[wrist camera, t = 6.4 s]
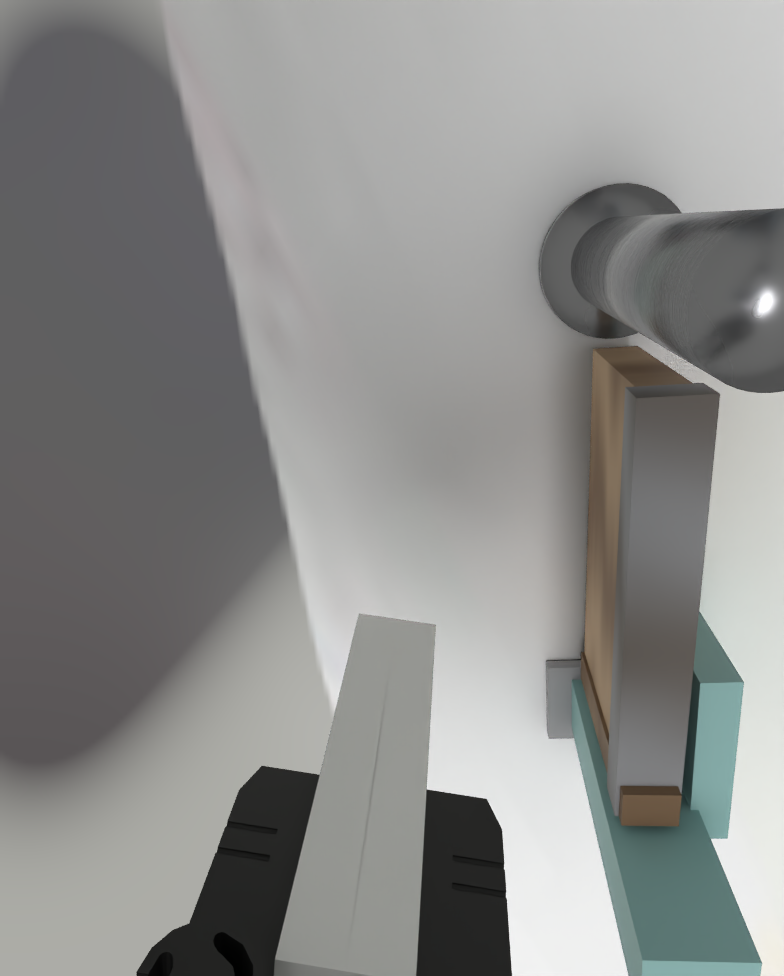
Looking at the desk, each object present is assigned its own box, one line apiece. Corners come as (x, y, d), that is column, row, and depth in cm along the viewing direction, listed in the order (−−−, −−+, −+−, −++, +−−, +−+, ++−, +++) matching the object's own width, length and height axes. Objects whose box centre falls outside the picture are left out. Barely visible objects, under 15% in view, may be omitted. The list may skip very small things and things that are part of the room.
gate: (585, 349, 19) (639, 401, 13) (644, 345, 19) (725, 397, 13) (577, 677, 23) (617, 825, 17) (626, 676, 23) (682, 826, 17)
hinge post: (537, 192, 18) (629, 157, 9) (692, 176, 18) (974, 118, 8) (540, 341, 20) (622, 456, 10) (684, 330, 19) (915, 438, 10)
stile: (544, 571, 22) (606, 816, 13) (670, 566, 22) (827, 816, 13) (547, 730, 25) (602, 1035, 15) (661, 728, 24) (789, 1041, 15)
